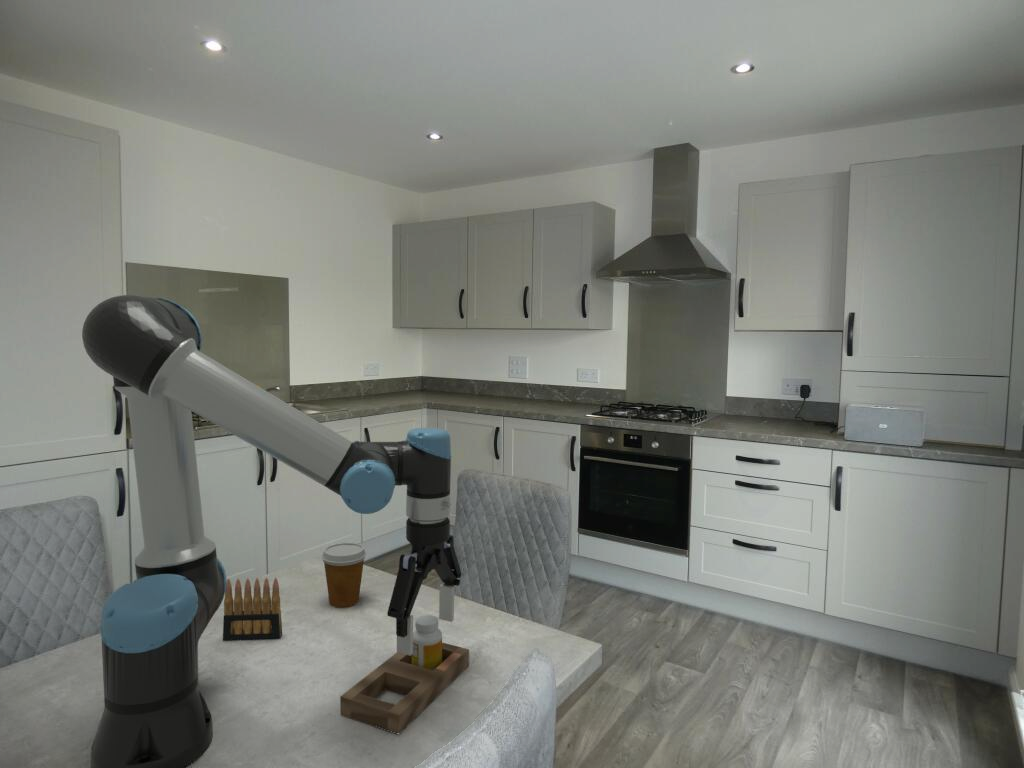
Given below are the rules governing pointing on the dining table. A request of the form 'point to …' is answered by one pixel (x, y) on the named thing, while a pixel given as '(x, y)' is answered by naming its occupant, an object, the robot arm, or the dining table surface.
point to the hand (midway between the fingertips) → (426, 635)
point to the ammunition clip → (252, 612)
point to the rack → (402, 689)
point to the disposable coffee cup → (343, 573)
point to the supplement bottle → (427, 643)
